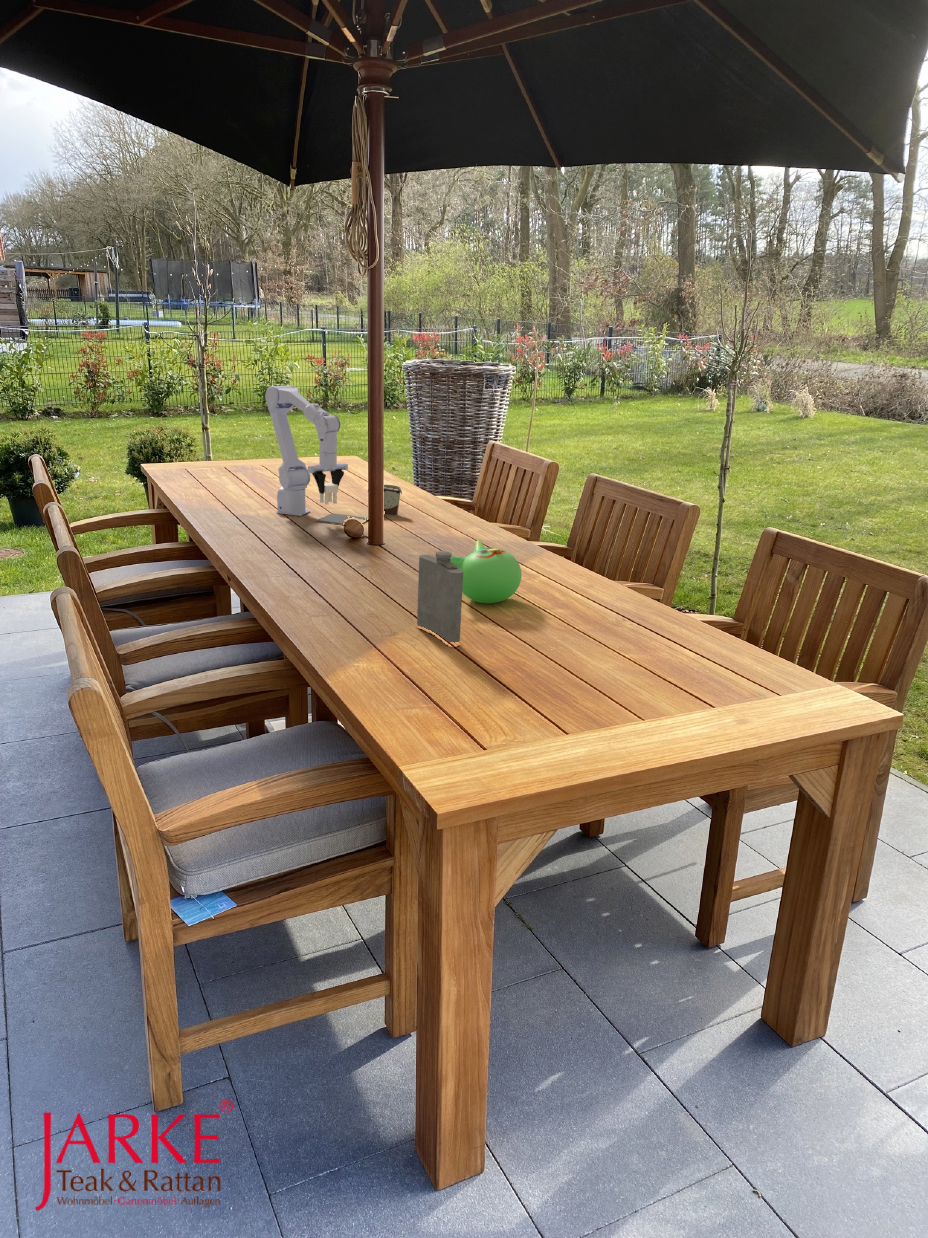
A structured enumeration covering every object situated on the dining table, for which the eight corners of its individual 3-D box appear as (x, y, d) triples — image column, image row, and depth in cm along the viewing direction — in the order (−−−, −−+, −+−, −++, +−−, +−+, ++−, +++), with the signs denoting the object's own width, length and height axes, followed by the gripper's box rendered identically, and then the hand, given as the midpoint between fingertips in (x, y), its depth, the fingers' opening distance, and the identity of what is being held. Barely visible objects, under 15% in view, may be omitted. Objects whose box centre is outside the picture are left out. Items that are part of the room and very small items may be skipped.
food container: (404, 512, 326) (404, 485, 323) (401, 516, 320) (401, 488, 317) (370, 510, 327) (371, 483, 324) (367, 513, 321) (367, 486, 318)
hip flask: (414, 626, 212) (417, 545, 206) (429, 624, 215) (432, 543, 208) (450, 648, 200) (454, 562, 193) (465, 645, 202) (469, 560, 196)
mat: (316, 521, 307) (316, 519, 306) (332, 514, 317) (332, 513, 317) (356, 526, 302) (356, 525, 302) (370, 519, 313) (370, 518, 313)
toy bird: (496, 616, 222) (500, 559, 217) (440, 602, 231) (442, 547, 226) (530, 598, 237) (534, 545, 232) (476, 586, 245) (479, 534, 240)
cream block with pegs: (326, 504, 301) (326, 485, 299) (318, 502, 304) (318, 483, 302) (337, 503, 304) (337, 484, 301) (330, 500, 307) (330, 482, 305)
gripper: (315, 455, 291) (315, 496, 295) (353, 452, 300) (352, 492, 304) (304, 452, 296) (304, 492, 300) (341, 449, 305) (341, 488, 309)
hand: (328, 492), depth 303 cm, fingers closed on cream block with pegs, 5 cm apart
